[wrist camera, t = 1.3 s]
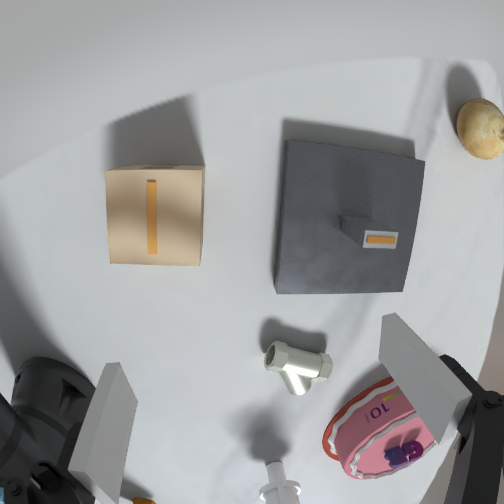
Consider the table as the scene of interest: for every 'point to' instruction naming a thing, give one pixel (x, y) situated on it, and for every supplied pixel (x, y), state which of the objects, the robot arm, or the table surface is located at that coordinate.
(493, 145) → the onion
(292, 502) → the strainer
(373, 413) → the cake
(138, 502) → the decorative tree
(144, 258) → the taped cardboard box
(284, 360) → the pipe fitting
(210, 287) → the table surface
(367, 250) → the grey piece
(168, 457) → the table surface
